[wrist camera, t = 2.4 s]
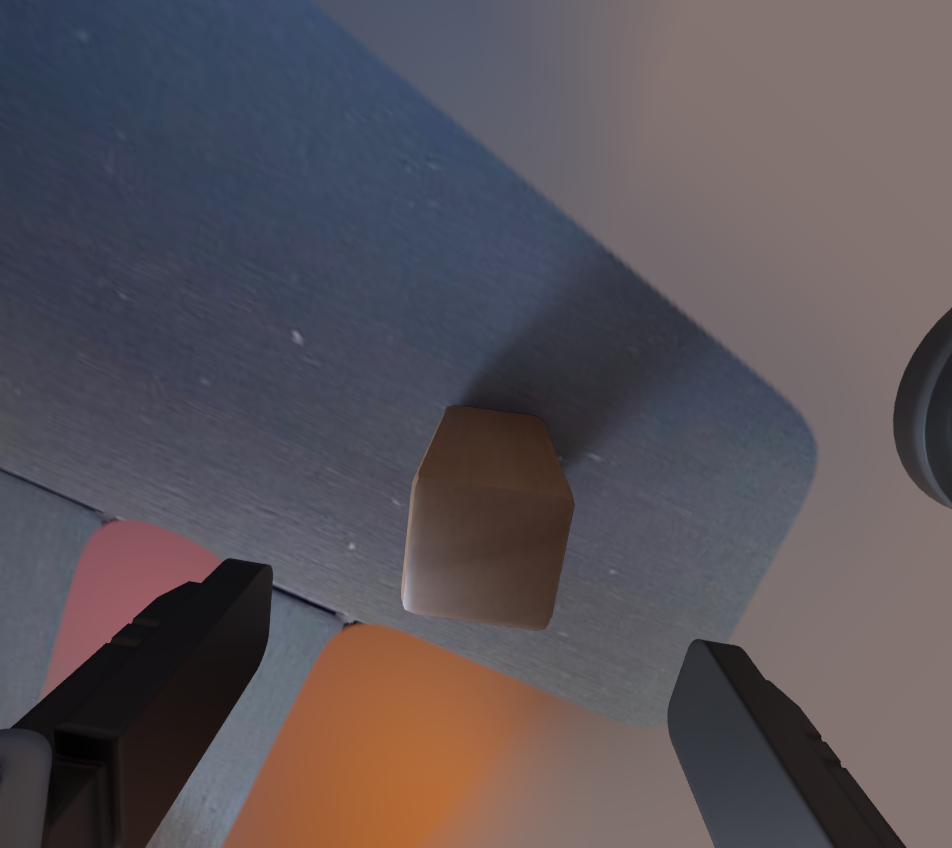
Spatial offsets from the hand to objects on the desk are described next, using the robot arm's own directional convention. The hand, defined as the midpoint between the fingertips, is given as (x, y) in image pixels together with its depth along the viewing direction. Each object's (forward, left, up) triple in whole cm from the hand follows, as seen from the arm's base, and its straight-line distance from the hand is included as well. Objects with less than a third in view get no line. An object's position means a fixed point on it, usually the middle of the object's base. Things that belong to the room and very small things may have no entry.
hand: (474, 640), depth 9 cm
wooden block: (0, 0, -11) cm, 11 cm away
